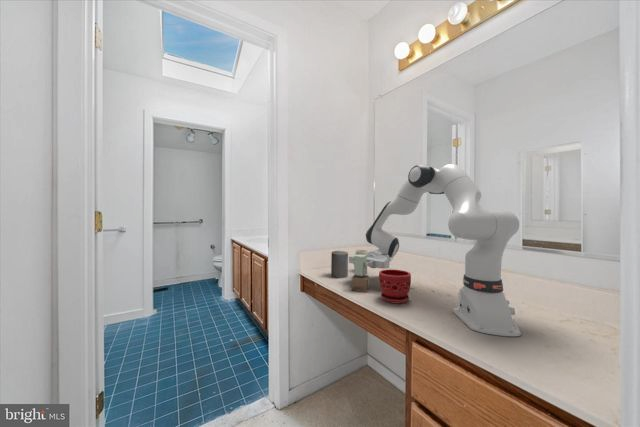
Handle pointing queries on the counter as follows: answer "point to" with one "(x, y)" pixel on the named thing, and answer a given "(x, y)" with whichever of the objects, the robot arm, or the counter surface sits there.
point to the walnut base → (360, 283)
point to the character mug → (361, 252)
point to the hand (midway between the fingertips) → (359, 263)
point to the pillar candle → (339, 264)
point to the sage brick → (360, 265)
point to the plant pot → (395, 285)
